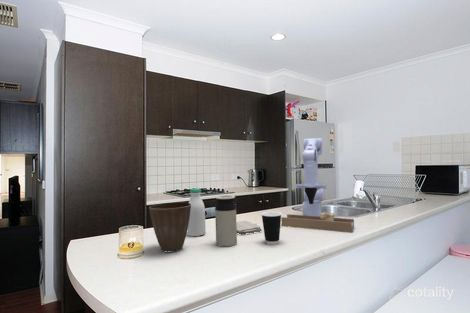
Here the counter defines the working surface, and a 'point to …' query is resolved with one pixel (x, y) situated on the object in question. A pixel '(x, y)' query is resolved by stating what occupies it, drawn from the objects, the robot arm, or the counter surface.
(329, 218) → the maple block
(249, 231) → the washcloth
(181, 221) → the plant pot
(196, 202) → the milk bottle
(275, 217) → the dixie cup
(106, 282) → the counter surface
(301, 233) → the counter surface
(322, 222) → the trap track
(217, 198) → the travel mug
